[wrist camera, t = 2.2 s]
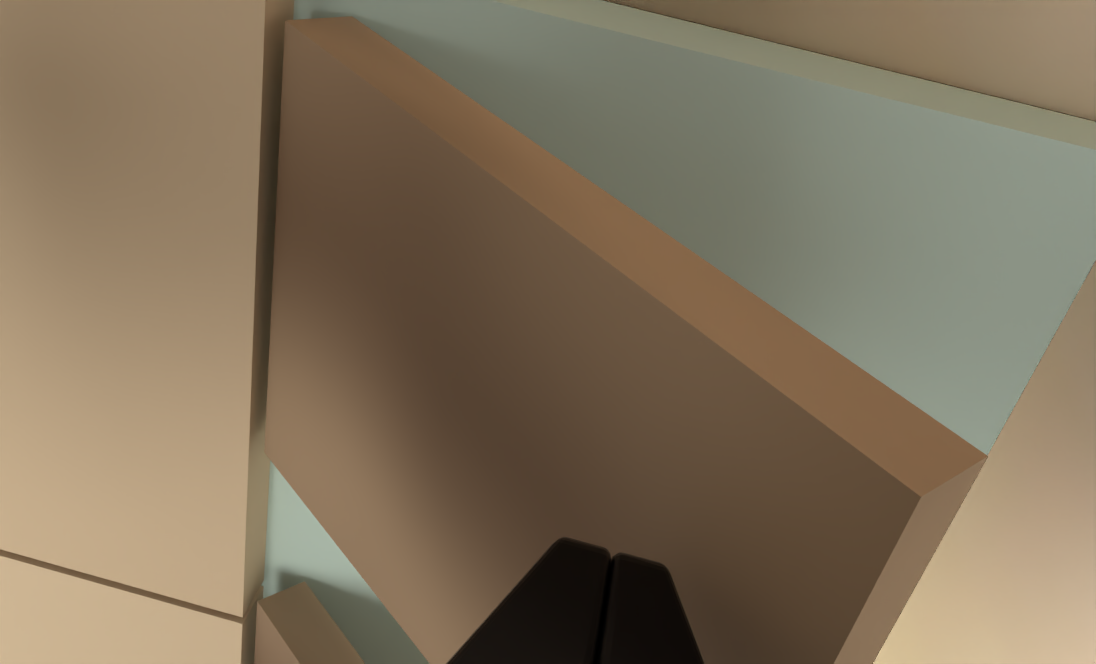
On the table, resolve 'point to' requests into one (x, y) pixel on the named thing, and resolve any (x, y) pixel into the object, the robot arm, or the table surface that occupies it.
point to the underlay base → (545, 118)
